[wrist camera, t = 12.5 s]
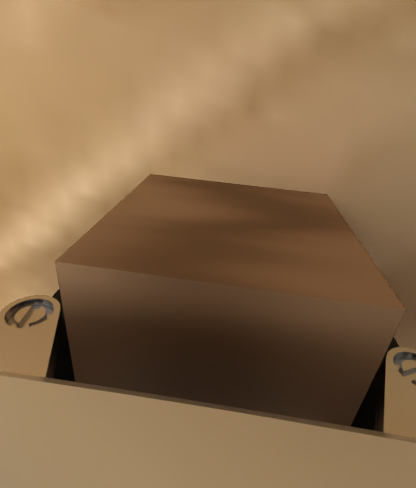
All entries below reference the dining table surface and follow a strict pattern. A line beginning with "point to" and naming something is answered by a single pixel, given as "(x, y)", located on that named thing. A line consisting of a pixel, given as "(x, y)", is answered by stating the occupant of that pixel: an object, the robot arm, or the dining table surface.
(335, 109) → the dining table surface
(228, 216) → the walnut block
